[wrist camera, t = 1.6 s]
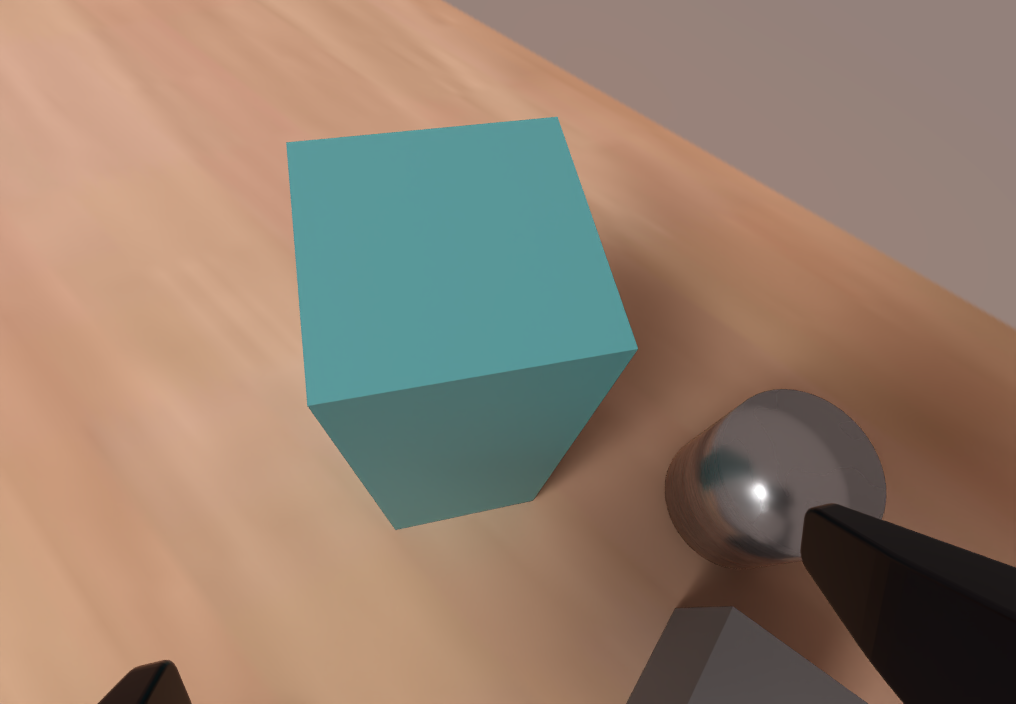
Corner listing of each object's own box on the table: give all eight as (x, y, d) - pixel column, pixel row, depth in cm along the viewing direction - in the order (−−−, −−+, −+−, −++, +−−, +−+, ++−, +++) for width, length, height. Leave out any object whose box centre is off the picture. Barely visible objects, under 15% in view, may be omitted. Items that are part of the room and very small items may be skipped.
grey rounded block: (819, 509, 21) (917, 480, 17) (737, 600, 20) (821, 596, 15) (722, 410, 23) (788, 360, 18) (637, 488, 21) (687, 454, 17)
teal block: (532, 500, 20) (638, 348, 9) (395, 530, 20) (307, 405, 8) (503, 376, 22) (556, 116, 11) (378, 398, 22) (286, 142, 10)
